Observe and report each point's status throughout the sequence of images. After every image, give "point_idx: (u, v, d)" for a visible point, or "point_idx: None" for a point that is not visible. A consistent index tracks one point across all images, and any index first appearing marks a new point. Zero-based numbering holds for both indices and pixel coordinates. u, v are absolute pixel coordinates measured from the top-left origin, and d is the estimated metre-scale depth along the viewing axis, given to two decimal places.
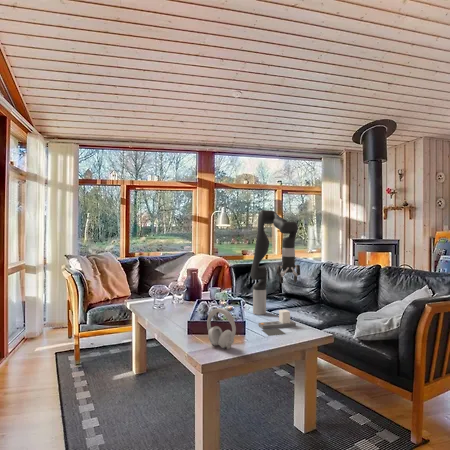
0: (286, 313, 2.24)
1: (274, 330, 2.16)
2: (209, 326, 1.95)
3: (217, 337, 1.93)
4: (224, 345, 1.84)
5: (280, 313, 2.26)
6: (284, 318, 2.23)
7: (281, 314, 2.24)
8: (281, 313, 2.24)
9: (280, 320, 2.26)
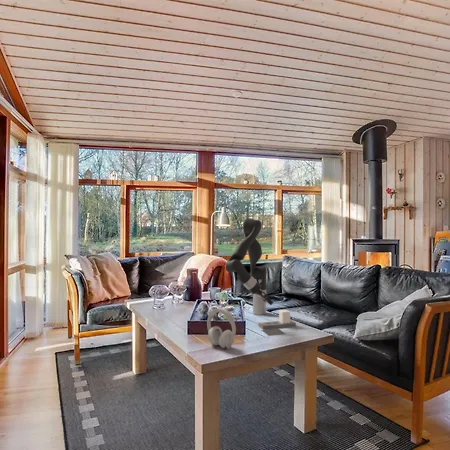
0: (286, 313, 2.24)
1: (274, 330, 2.16)
2: (209, 326, 1.95)
3: (217, 337, 1.93)
4: (224, 345, 1.84)
5: (280, 313, 2.26)
6: (284, 318, 2.23)
7: (281, 314, 2.24)
8: (281, 313, 2.24)
9: (280, 320, 2.26)
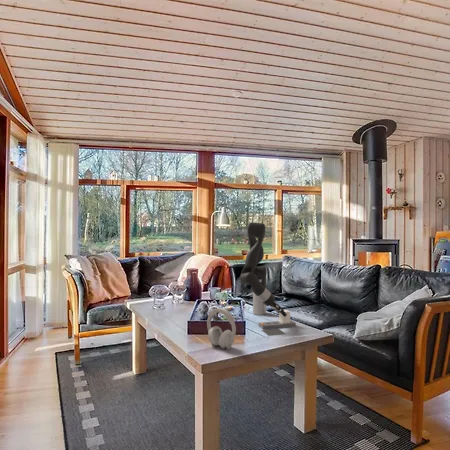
0: (286, 313, 2.24)
1: (274, 330, 2.16)
2: (209, 326, 1.95)
3: (217, 337, 1.93)
4: (224, 345, 1.84)
5: (280, 313, 2.26)
6: (284, 318, 2.23)
7: (281, 314, 2.24)
8: None
9: (280, 320, 2.26)
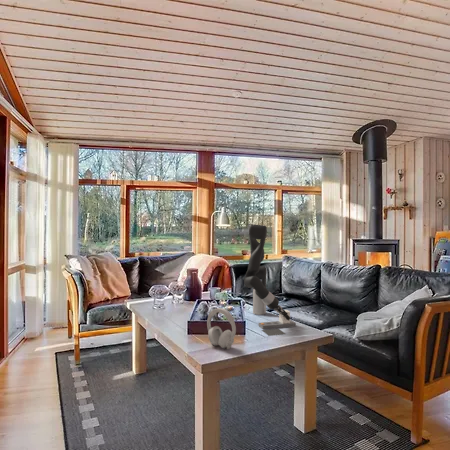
0: None
1: (274, 330, 2.16)
2: (209, 326, 1.95)
3: (217, 337, 1.93)
4: (224, 345, 1.84)
5: None
6: (284, 318, 2.23)
7: (281, 314, 2.24)
8: None
9: (280, 320, 2.26)
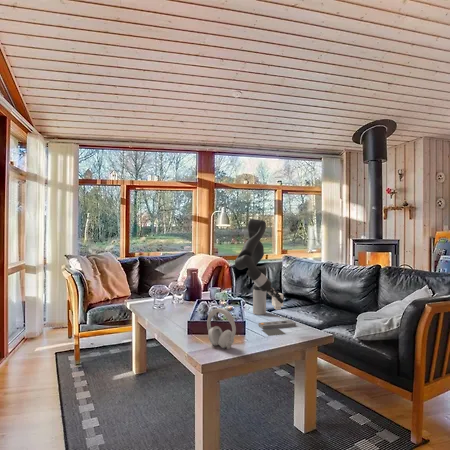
0: None
1: (274, 330, 2.16)
2: (209, 326, 1.95)
3: (217, 337, 1.93)
4: (224, 345, 1.84)
5: None
6: (277, 301, 2.13)
7: (274, 297, 2.14)
8: None
9: (273, 303, 2.16)
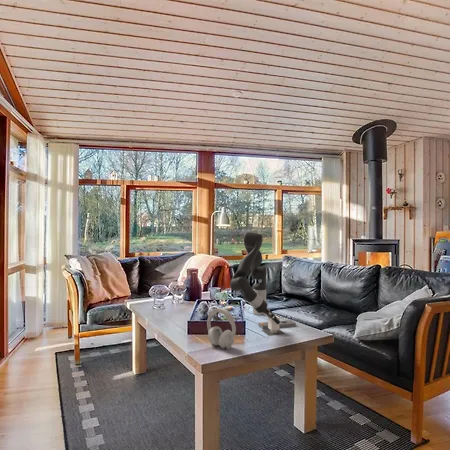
0: None
1: None
2: (209, 326, 1.95)
3: (217, 337, 1.93)
4: (224, 345, 1.84)
5: (269, 319, 2.12)
6: (273, 324, 2.10)
7: (270, 320, 2.11)
8: (270, 319, 2.11)
9: (269, 326, 2.12)
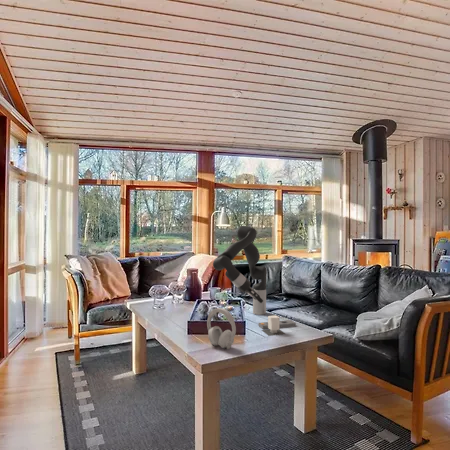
0: (275, 319, 2.10)
1: None
2: (209, 326, 1.95)
3: (217, 337, 1.93)
4: (224, 345, 1.84)
5: (269, 319, 2.12)
6: (273, 324, 2.10)
7: (270, 320, 2.11)
8: (270, 319, 2.11)
9: (269, 326, 2.12)
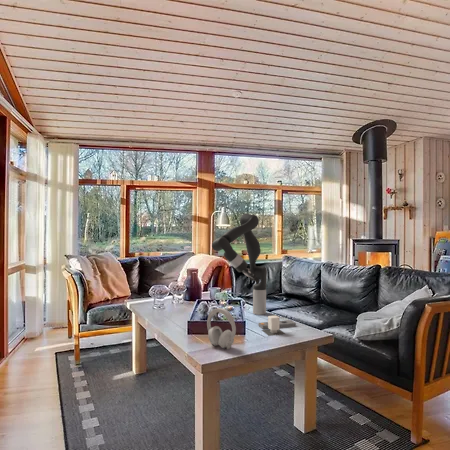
0: (275, 319, 2.10)
1: None
2: (209, 326, 1.95)
3: (217, 337, 1.93)
4: (224, 345, 1.84)
5: (269, 319, 2.12)
6: (273, 324, 2.10)
7: (270, 320, 2.11)
8: (270, 319, 2.11)
9: (269, 326, 2.12)
